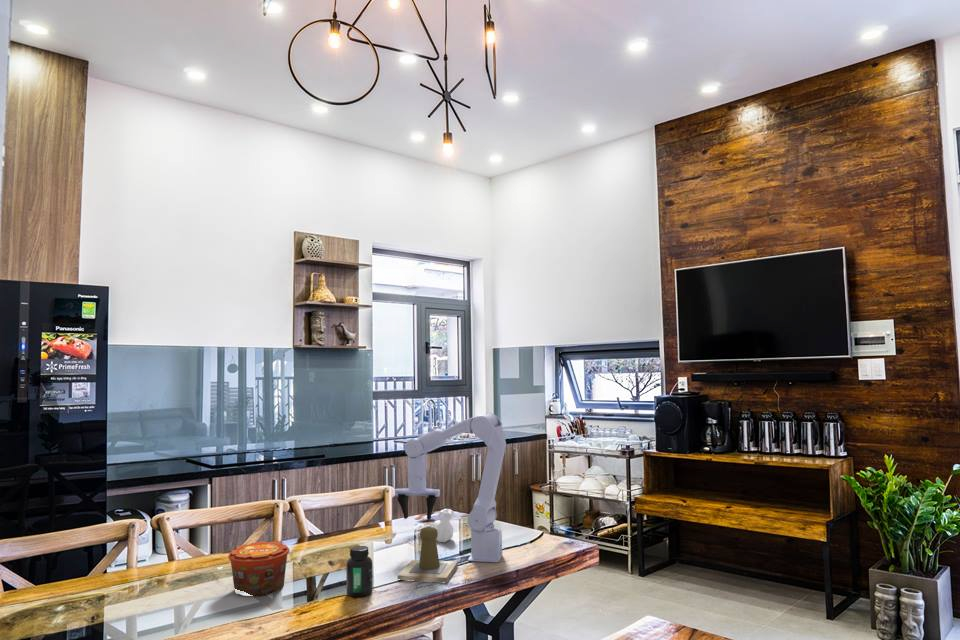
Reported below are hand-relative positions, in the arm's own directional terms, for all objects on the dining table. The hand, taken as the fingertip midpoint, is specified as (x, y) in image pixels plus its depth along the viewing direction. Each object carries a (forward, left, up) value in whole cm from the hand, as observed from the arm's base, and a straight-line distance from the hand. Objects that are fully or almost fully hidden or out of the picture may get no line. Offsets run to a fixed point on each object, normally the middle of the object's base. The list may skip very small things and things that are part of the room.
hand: (417, 518), depth 213 cm
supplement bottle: (+5, +38, -11) cm, 40 cm away
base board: (-9, +20, -10) cm, 24 cm away
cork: (-9, +19, -9) cm, 23 cm away
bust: (-5, -14, -11) cm, 18 cm away
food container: (+34, +38, -11) cm, 52 cm away
